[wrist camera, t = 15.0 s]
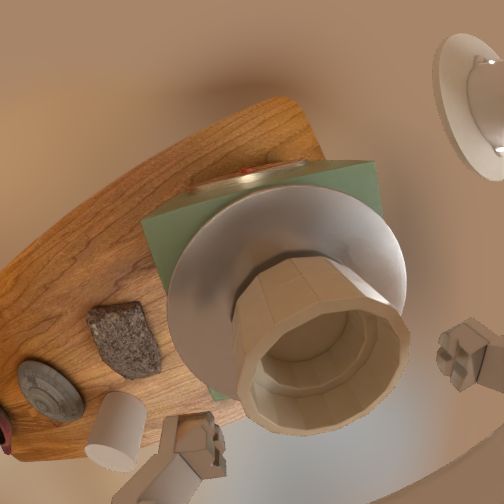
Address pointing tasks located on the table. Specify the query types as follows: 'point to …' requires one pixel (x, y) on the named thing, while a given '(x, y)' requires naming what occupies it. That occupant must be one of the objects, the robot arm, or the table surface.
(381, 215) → the scale
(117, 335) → the stone
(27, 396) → the flying saucer
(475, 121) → the robot arm
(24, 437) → the table surface
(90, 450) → the taupe round pillar
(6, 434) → the bowl
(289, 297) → the small bowl
